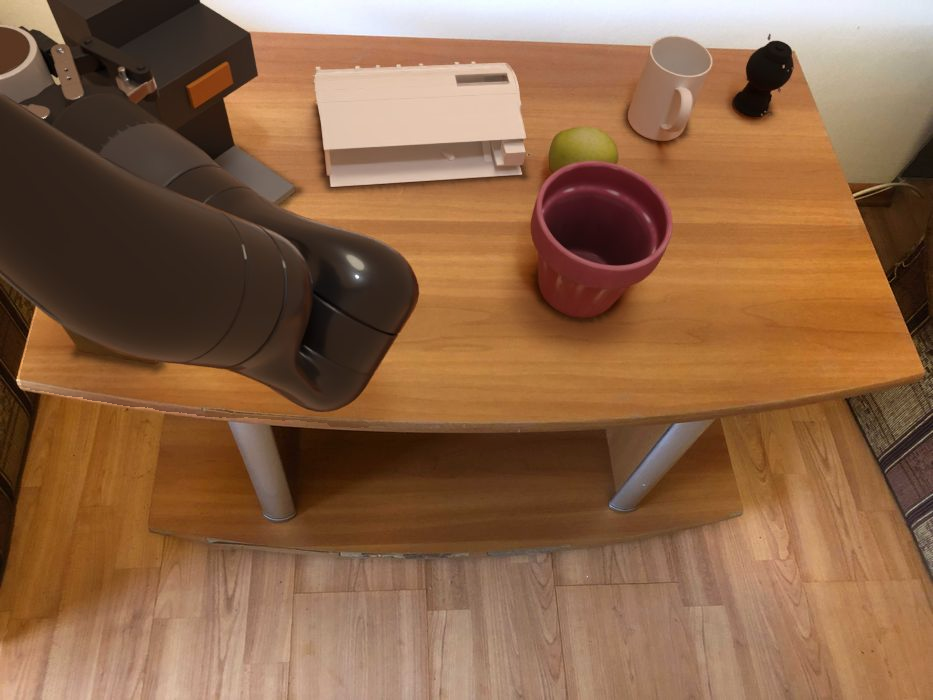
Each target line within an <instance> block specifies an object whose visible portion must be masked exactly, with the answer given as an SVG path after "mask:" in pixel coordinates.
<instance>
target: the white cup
mask: <svg viewBox="0 0 933 700" xmlns="http://www.w3.org/2000/svg"><path fill="white" fill-rule="evenodd" d="M18 27H19V26H18ZM18 27H17V26H15V25H10V24H9V25H8V24H0V92H1V93H2V94H4V95H6V96H7V97H9V98H10V99H12V100H14V101H15V102H17V103H20V102H21V101H23V100H26V99H28V98H31V97H34V96H36V95H38V94H39V93H40V92H41V91H42V90H43V89H45V88H46V87H48V86H50V85H51V84H53V83H56V81H55V79H54V76H53V75H51V73H50V71H49V68H48V66H47V64H46V62H45V60H44V58H43V56H42V54H41V51H40V49H39V47H38V45H37V43H36V41H35V39H34V38H33V37H32V36H31V35H30V34H29V33H28V32H26V31H25V30H23V29H20V28H18Z"/></svg>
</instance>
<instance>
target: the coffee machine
mask: <svg viewBox="0 0 933 700" xmlns="http://www.w3.org/2000/svg"><path fill="white" fill-rule="evenodd" d="M45 1H46V3H47V5H48V7H49V9H50V13H51V14H52V17H53V19H54V21H55V24H56V26H57V28H58V31H59V33H60V35H61V38H62V40H63V42H64V44H65V45H67V46H69V47H75V46H79V40H80V39H81V38H83V37H87V36H92V37H95V38H97V39H99V40H101V41H103V42H105V43H107V44H109V45H111V46H113V47H115V48H117V49H119V50H121V51H123V52H125V53H127V54H129V55H131V56H134V57H136V58H138V59H140V60H142V61H144V62H146V63H148V64H149V65H150V67H151V70H152V73H153V76H154V79H155V82H156V85H157V88H158V91H159V94H160V97H159V99H158V100H156V101H154V102H146V101H144V100H142V99H141V100H140V101H139V102H137V103H136V104H137V105H138V106H139V107H141V108H142V109H144V110H145V111H147V112H148V113H150V114H151V115H152V116H154V117H155V118H157V119H158V120H160V121H161V122H163V123H164V124H166V125H167V126H168V127H170V128H171V129H173V130H174V131H176V132H177V133H179V134H180V135H181V136H183V137H184V138H186V139H187V140H189V141H190V142H192V143H193V144H194V145H196V146H197V147H199V148H200V149H201V150H203V151H204V152H205V153H206V154H207V155H208V156H209V157H210V158H211V159H212V160H213V161H214V162H215V163H217V164H218V165H219V166H220V167H221V168H223V169H224V170H225V171H226V172H228V173H229V174H231V175H232V176H233V177H235V178H236V179H238V180H239V181H241V182H242V183H244V184H245V185H246V186H248V187H249V188H251V189H252V190H254V191H255V192H257V193H258V194H260V195H262V196H263V197H265V198H266V199H268V200H269V201H271V202H273V203H275V204H277V205H279V206H280V204H282V203H283V202H284V201H285V200H287V199H288V198H290V196H292V195H293V194H294V193H296V188H295V187H296V186H295V185H294V184H293V183H291V182H289V181H288V180H287V179H285V178H284V177H282V176H281V175H279V174H278V173H277V172H276V171H273V170H272V169H270V167H267V166H266V165H264V164H263V163H262V162H260V161H258V160H257V159H256V158H255V157H253V156H251V155H250V154H248V153H247V152H245V151H244V150H242V149H241V148H239V147H238V146H237V145H235V140H234V137H233V132H232V128H231V124H230V120H229V116H228V112H227V107H226V103H225V98H226V97H228V96H229V95H231V94H232V93H234V92H236V91H237V90H238V89H240V88H241V87H243V86H244V85H246V84H247V83H250V82H251V81H252V80H253V79H255V78H257V77H258V76H259V73H258V67H257V62H256V57H255V52H254V51H255V50H254V46H253V45H254V44H253V39H252V34H251V33H250V32H249V31H248V30H246V29H244V28H243V27H241V26H239V25H238V24H237V23H235V22H233V21H232V20H230V19H228V18H227V17H225V16H223V15H222V14H220V13H218V12H217V11H215V10H214V9H213V8H211V7H209V6H207V5H206V4H204V3H203V2H201V0H45ZM81 76H82V79H83V82H84V84H85V85H97V86H110V87H116V86H114V85H112V84H110V83H108V82H106V81H104V80H102V79H100V78H98V77H96V76H94V75H93V74H92V73H87V74H84V75H81ZM116 88H118V87H116Z"/></svg>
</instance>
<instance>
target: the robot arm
mask: <svg viewBox="0 0 933 700" xmlns="http://www.w3.org/2000/svg"><path fill="white" fill-rule="evenodd" d="M18 28H20V29H23V30H25V31H26V32H28V33H29V34H30V35H31V36H32V37H33V38H34V39H35V41H36V43H37V45H38V47H39V49H40V51H41V54H42V56H43V58H44V60H45V62H46V64H47V66H48V68H49V71H50V73H51V75H52V77H53V78H56V79H58V80H59V84H57V83H56V82H55V83H53V84H51V85H50V86H48V87H46V88H45V89H43V90H42V91H41V92H40V93H39V94H38V95H36V96H34V97H31V98H28V99H26V100H23V101H21V102H20V103H17V102H15V101H14V100H12V99H10V98H9V97H7V96H6V95H4V94H2V93H1V92H0V278H1V279H3V280H4V281H5V282H6V283H7V284H8V285H9V286H11V287H12V288H13V289H14V290H16V292H18V293H19V294H20V295H22V296H23V297H24V298H25V299H26V300H27V301H29V302H30V303H31V304H32V305H34V306H35V307H36V308H37V309H39V310H40V311H41V312H42V313H43V314H44V315H46V316H48V317H49V318H50V319H52V320H53V321H55V323H57V324H59V325H60V326H61V327H62V326H64V327H65V328H67V329H69V330H70V331H72V332H74V333H75V334H77V335H79V336H81V337H82V338H84V339H86V340H88V341H90V342H92V343H94V344H96V345H98V346H100V347H102V348H105V349H107V350H110V351H113V352H116V353H119V354H122V355H126V356H130V357H135V358H139V359H144V360H149V361H156V362H157V363H166V364H175V365H183V366H192V367H200V368H201V367H202V368H210V369H219V370H225V371H229V372H232V373H235V374H238V375H240V376H243V377H246V378H248V379H251V380H253V381H255V382H256V383H259V384H262V385H263V386H265V387H267V388H269V389H270V390H272V391H274V392H275V393H276V394H278V395H280V396H281V397H282V398H284V399H286V400H288V401H289V402H291V403H293V404H295V405H297V406H299V407H301V408H303V409H305V410H308V411H313V412H317V413H330V412H335V411H338V410H340V409H342V408H344V407H347V406H348V405H350V404H351V403H353V402H355V401H356V400H357V398H359V397H360V396H361V394H362V393H364V391H365V390H366V388H367V386H368V385H369V384H370V382H371V380H372V378H373V377H374V375H375V374H376V371H377V370H378V369H379V367H380V366H381V364H382V362H383V361H384V359H385V357H386V355H387V354H388V353H389V351H390V349H391V347H392V346H393V344H394V343H395V341H396V339H397V338H398V336H399V334H400V333H401V332H402V331H403V329H404V327H405V326H406V324H407V323H408V321H409V320H410V318H411V316H412V315H413V313H414V311H415V310H416V306H417V305H418V302H419V297H420V286H419V281H418V277H417V275H416V273H415V271H414V269H413V267H412V266H411V264H410V263H409V261H408V260H407V259H406V257H405V256H404V255H403V254H401V253H400V251H398V250H397V249H395V248H394V247H393V246H391V245H389V244H387V243H386V242H384V241H382V240H379V239H378V238H375V237H372V236H370V235H366V234H364V233H360V232H358V231H357V232H356V231H353V230H350V229H346V228H342V227H339V226H335V225H332V224H331V225H330V224H327V223H324V222H321V221H317V220H315V219H311V218H310V217H306V216H303V215H300V214H298V213H295V212H292V211H291V210H289V209H287V208H284V207H282V206H280V204H279V205H277V204H275V203H273V202H271V201H269V200H268V199H266V198H265V197H263V196H262V195H260V194H258V193H257V192H255V191H254V190H252V189H251V188H249V187H248V186H246V185H245V184H244V183H242V182H241V181H239V180H238V179H236V178H235V177H233V176H232V175H231V174H229V173H228V172H226V171H225V170H224V169H223V168H221V167H220V166H219V165H218V164H217V163H215V162H214V161H213V160H212V159H211V158H210V157H209V156H208V155H207V154H206V153H205V152H204V151H203V150H201V149H200V148H199V147H197V146H196V145H194V144H193V143H192V142H190V141H189V140H187V139H186V138H184V137H183V136H181V135H180V134H179V133H177V132H176V131H174V130H173V129H171V128H170V127H168V126H167V125H166V124H164V123H163V122H161V121H160V120H158V119H157V118H155V117H154V116H152V115H151V114H150V113H148V112H147V111H145V110H144V109H142V108H141V107H139V106H138V105H137V104H136V103H137V102H139V101H140V100H141V99H142V100H144V101H146V102H154V101H156V100H158V99H159V97H160V94H159V91H158V88H157V85H156V82H155V79H154V76H153V73H152V70H151V67H150V65H149V64H148V63H146V62H144V61H142V60H140V59H138V58H136V57H134V56H131V55H129V54H127V53H125V52H123V51H121V50H119V49H117V48H115V47H113V46H111V45H109V44H107V43H105V42H103V41H101V40H99V39H97V38H95V37H92V36H87V37H83V38H81V39H80V40H79V46H75V47H69V46H67V45H65V43H58V42H57V41H56V40H54V39H53V38H51V37H49V36H48V35H47V34H45V33H44V32H42V31H40V30H38V29H34V28H32V29H30V30H29V29H27V28H26V27H25V26H23V25H21V26H18ZM87 73H92V74H93V75H94V76H96V77H98V78H100V79H102V80H104V81H106V82H108V83H110V84H112V85H114V86H116V87H118V88H116V87H110V86H97V85H85V84H84V82H83V79H82V76H81V75H84V74H87Z"/></svg>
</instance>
